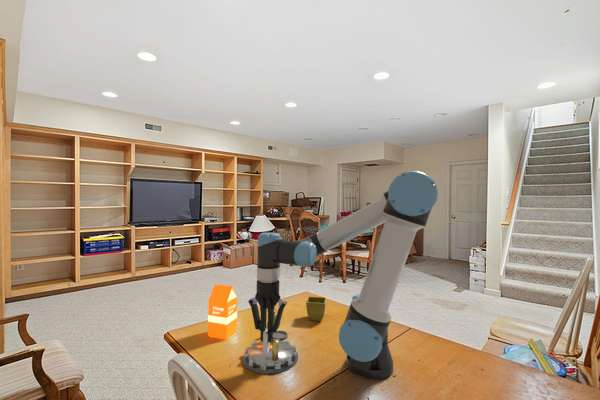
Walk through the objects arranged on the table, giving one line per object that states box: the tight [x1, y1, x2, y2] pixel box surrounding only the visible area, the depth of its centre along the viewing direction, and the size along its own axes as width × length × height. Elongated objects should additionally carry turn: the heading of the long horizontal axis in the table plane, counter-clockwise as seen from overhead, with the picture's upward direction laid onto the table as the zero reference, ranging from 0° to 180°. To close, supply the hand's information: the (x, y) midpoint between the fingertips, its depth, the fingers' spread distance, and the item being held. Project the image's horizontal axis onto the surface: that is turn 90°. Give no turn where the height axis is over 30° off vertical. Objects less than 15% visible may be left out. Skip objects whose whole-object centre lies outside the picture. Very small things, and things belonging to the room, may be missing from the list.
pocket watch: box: [266, 308, 288, 341], centre depth 117 cm, size 8×8×10 cm
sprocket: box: [243, 339, 298, 370], centre depth 100 cm, size 18×18×8 cm
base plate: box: [242, 353, 299, 375], centre depth 99 cm, size 19×19×1 cm
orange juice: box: [207, 283, 238, 341], centre depth 118 cm, size 8×9×20 cm
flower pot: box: [305, 296, 327, 322], centre depth 134 cm, size 9×9×9 cm
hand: (266, 351), depth 95 cm, fingers closed
